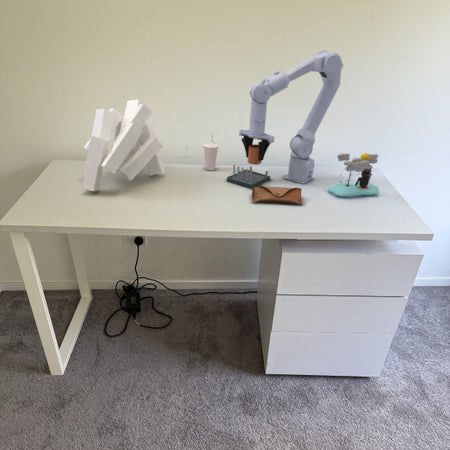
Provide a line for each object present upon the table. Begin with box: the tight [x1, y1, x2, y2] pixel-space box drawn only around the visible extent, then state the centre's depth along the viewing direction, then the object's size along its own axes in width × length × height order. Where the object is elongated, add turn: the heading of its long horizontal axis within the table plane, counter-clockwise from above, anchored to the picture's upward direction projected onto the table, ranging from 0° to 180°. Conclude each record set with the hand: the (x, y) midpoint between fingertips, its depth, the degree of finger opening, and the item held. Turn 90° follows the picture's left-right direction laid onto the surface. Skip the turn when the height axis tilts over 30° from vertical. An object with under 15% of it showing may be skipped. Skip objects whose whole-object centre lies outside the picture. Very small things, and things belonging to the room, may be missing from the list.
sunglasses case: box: [251, 185, 303, 206], centre depth 137 cm, size 18×7×7 cm
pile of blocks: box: [81, 98, 166, 192], centre depth 143 cm, size 35×30×35 cm
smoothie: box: [202, 133, 219, 171], centre depth 158 cm, size 6×6×14 cm
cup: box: [247, 143, 262, 165], centre depth 147 cm, size 5×5×6 cm
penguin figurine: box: [327, 152, 380, 198], centre depth 141 cm, size 20×11×15 cm, turn 101°
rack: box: [226, 164, 271, 190], centre depth 150 cm, size 12×13×6 cm
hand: (254, 158), depth 148 cm, fingers closed on cup, 5 cm apart
